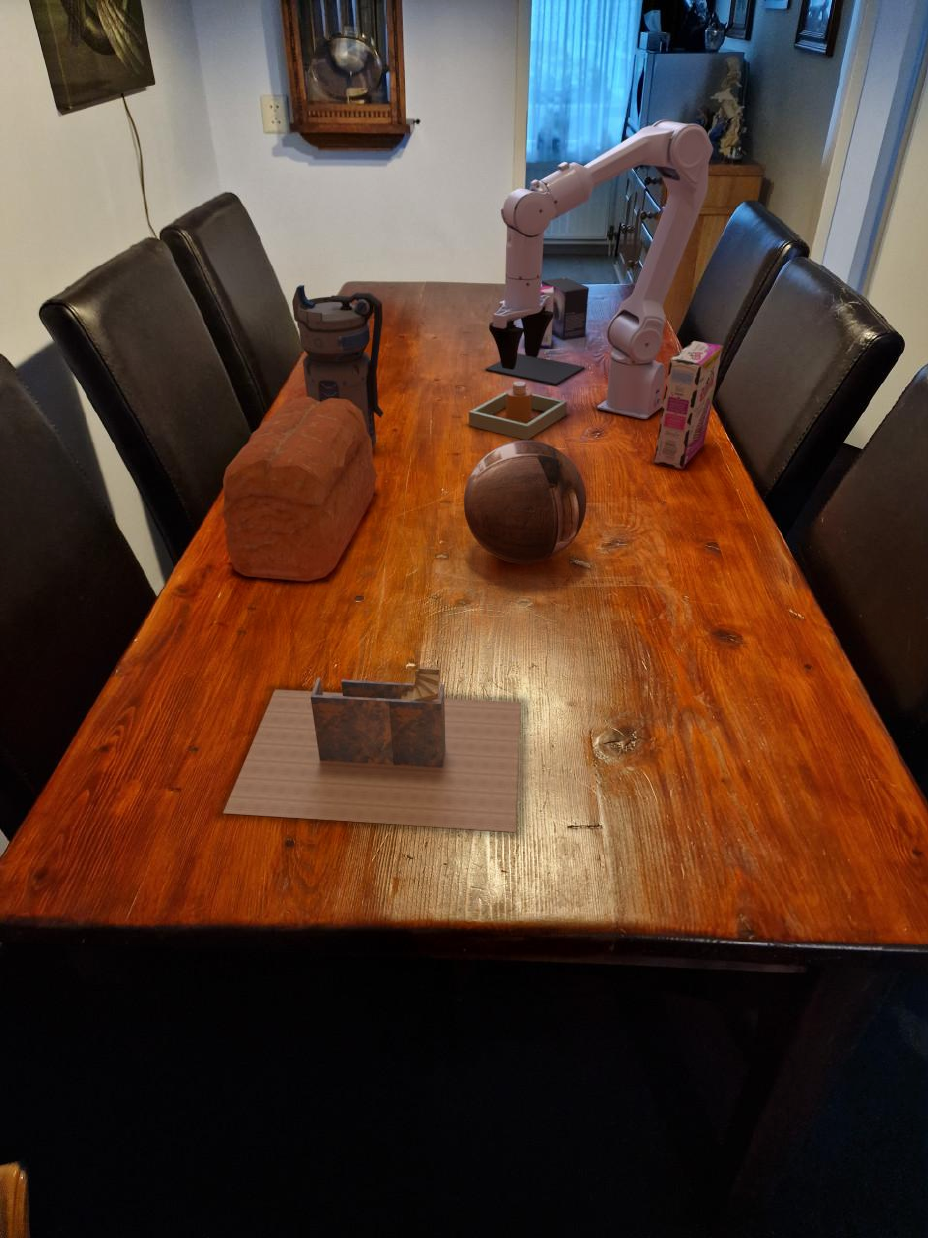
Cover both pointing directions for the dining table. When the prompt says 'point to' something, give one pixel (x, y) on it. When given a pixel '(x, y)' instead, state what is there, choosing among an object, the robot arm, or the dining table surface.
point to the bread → (298, 490)
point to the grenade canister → (341, 349)
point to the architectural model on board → (384, 757)
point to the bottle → (519, 403)
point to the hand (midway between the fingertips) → (520, 361)
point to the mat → (538, 369)
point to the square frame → (486, 421)
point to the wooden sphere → (525, 502)
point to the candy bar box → (687, 403)
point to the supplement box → (548, 334)
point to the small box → (568, 307)
